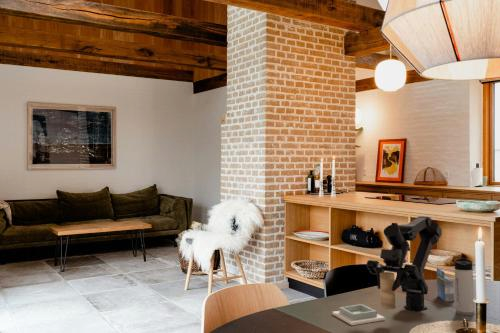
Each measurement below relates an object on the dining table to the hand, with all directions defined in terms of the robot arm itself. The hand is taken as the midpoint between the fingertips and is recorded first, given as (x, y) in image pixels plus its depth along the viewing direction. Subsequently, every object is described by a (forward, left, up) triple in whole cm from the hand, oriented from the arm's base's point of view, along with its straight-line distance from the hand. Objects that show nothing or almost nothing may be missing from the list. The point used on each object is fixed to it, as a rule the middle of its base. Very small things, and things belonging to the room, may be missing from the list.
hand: (385, 289), depth 169 cm
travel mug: (-34, +5, -13) cm, 37 cm away
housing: (+3, -12, -13) cm, 18 cm away
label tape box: (-43, -12, -13) cm, 47 cm away
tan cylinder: (-1, -1, -7) cm, 7 cm away
